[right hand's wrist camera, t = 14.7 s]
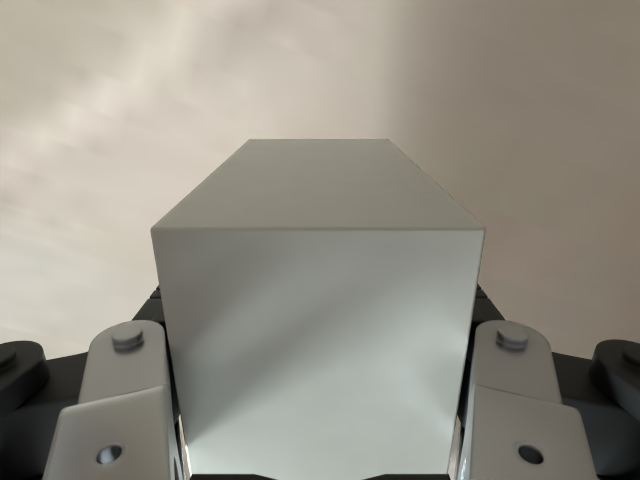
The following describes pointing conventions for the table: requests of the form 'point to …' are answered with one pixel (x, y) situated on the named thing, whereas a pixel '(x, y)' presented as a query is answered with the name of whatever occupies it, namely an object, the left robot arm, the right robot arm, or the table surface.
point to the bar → (318, 311)
